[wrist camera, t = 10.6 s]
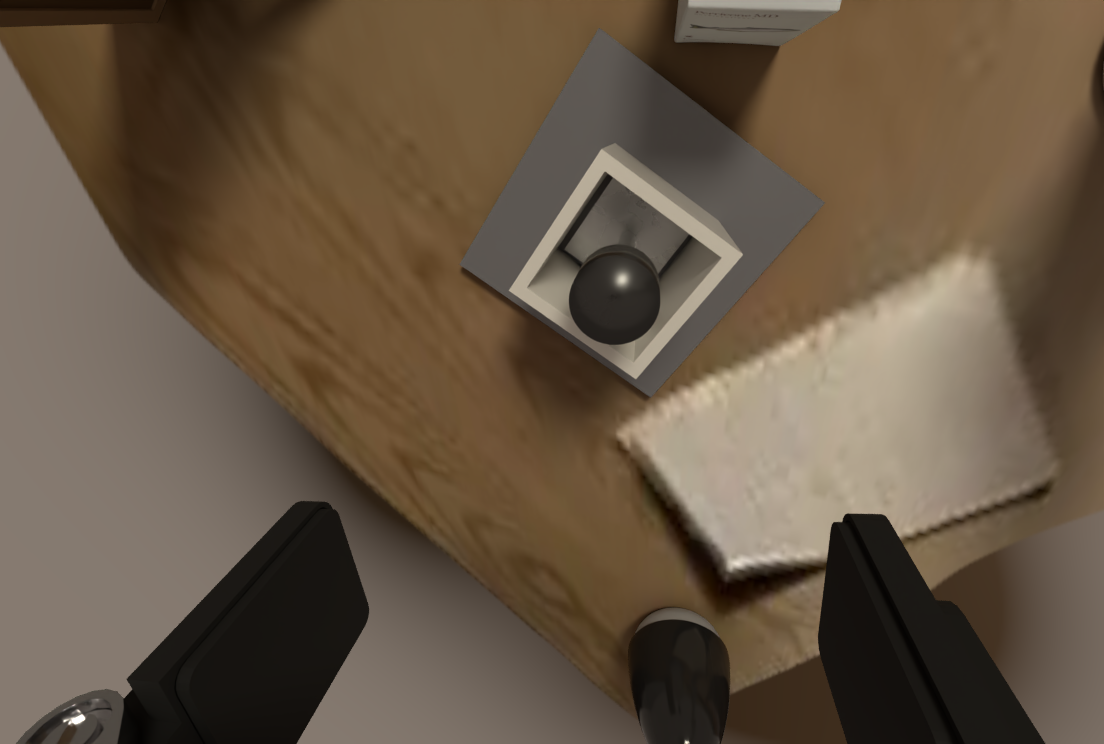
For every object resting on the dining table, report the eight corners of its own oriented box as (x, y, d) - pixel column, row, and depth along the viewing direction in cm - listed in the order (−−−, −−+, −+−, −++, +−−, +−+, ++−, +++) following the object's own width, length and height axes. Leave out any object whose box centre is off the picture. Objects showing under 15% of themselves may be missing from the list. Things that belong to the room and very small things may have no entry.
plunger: (693, 225, 41) (720, 287, 25) (636, 298, 44) (628, 393, 28) (618, 169, 40) (597, 196, 24) (565, 247, 43) (516, 316, 27)
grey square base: (820, 200, 40) (891, 231, 28) (650, 391, 48) (650, 477, 36) (600, 30, 38) (577, -14, 26) (464, 261, 46) (399, 307, 34)
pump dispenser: (679, 672, 62) (688, 826, 49) (610, 623, 61) (599, 767, 47) (746, 630, 58) (775, 785, 44) (673, 576, 57) (681, 719, 43)
